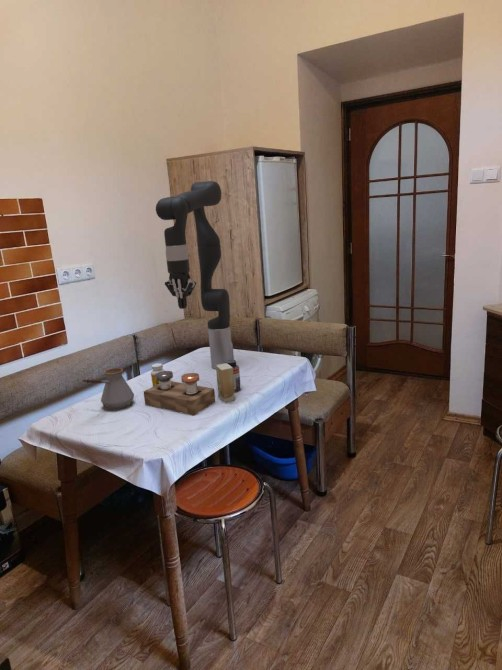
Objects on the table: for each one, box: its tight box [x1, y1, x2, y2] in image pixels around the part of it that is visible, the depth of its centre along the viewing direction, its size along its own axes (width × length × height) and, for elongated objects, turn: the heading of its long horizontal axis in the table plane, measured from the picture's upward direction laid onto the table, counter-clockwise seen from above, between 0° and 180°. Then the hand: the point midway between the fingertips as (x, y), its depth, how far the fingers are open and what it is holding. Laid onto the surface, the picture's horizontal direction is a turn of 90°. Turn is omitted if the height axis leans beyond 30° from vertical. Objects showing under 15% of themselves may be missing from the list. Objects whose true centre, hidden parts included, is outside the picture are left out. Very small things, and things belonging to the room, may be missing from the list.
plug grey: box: [155, 370, 174, 391], centre depth 168 cm, size 6×6×10 cm
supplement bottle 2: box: [225, 358, 242, 393], centre depth 174 cm, size 6×6×11 cm
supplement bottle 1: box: [150, 362, 166, 387], centre depth 181 cm, size 5×5×10 cm
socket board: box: [142, 380, 216, 416], centre depth 166 cm, size 12×22×5 cm, turn 57°
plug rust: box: [180, 372, 200, 396], centre depth 161 cm, size 6×6×10 cm
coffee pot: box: [79, 367, 135, 410], centre depth 163 cm, size 21×12×15 cm, turn 158°
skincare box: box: [215, 363, 236, 403], centre depth 166 cm, size 6×4×12 cm
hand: (182, 308), depth 166 cm, fingers closed
